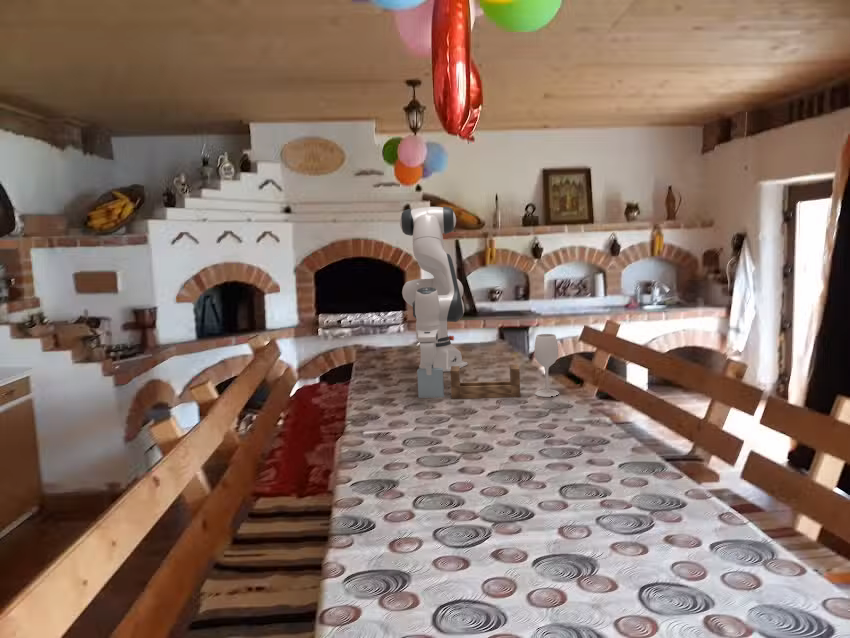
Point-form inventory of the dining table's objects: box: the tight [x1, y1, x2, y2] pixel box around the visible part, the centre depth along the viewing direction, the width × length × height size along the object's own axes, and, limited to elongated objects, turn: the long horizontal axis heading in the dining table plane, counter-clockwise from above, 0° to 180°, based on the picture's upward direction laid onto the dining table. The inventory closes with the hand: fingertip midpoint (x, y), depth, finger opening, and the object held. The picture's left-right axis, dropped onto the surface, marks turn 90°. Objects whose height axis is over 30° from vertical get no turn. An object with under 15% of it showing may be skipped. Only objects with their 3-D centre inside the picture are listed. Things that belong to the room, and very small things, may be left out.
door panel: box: [416, 367, 445, 399], centre depth 235 cm, size 9×4×10 cm, turn 86°
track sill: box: [449, 363, 521, 400], centre depth 233 cm, size 24×8×10 cm, turn 86°
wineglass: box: [534, 333, 560, 398], centre depth 229 cm, size 9×9×21 cm
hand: (430, 372), depth 234 cm, fingers open, 8 cm apart
